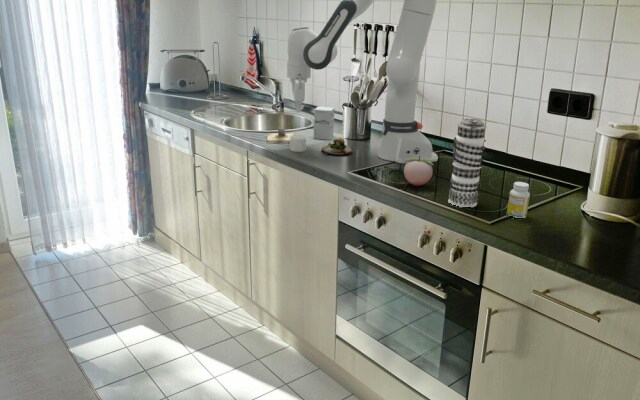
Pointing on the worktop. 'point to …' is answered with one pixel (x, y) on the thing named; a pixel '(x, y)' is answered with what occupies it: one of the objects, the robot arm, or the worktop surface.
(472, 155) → the decorative candle
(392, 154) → the robot arm
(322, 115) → the supplement box
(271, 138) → the stud board
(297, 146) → the cap
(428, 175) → the decorative fruit
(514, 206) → the supplement bottle
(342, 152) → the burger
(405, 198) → the worktop surface
